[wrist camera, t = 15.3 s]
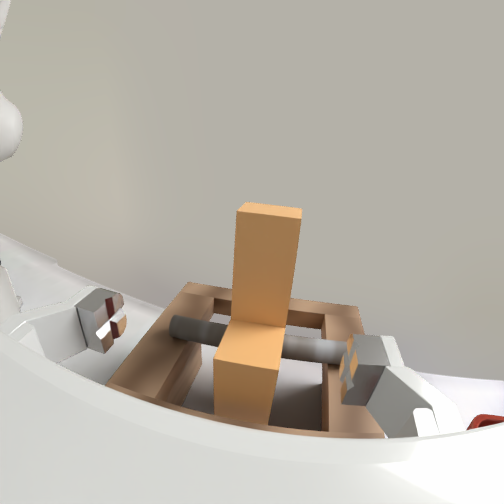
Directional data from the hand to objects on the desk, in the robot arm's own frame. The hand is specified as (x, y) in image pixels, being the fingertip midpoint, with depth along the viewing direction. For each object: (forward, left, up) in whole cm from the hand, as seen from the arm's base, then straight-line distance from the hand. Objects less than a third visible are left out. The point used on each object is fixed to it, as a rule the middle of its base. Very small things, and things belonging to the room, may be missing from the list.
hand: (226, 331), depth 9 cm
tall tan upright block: (0, +11, -20) cm, 23 cm away
